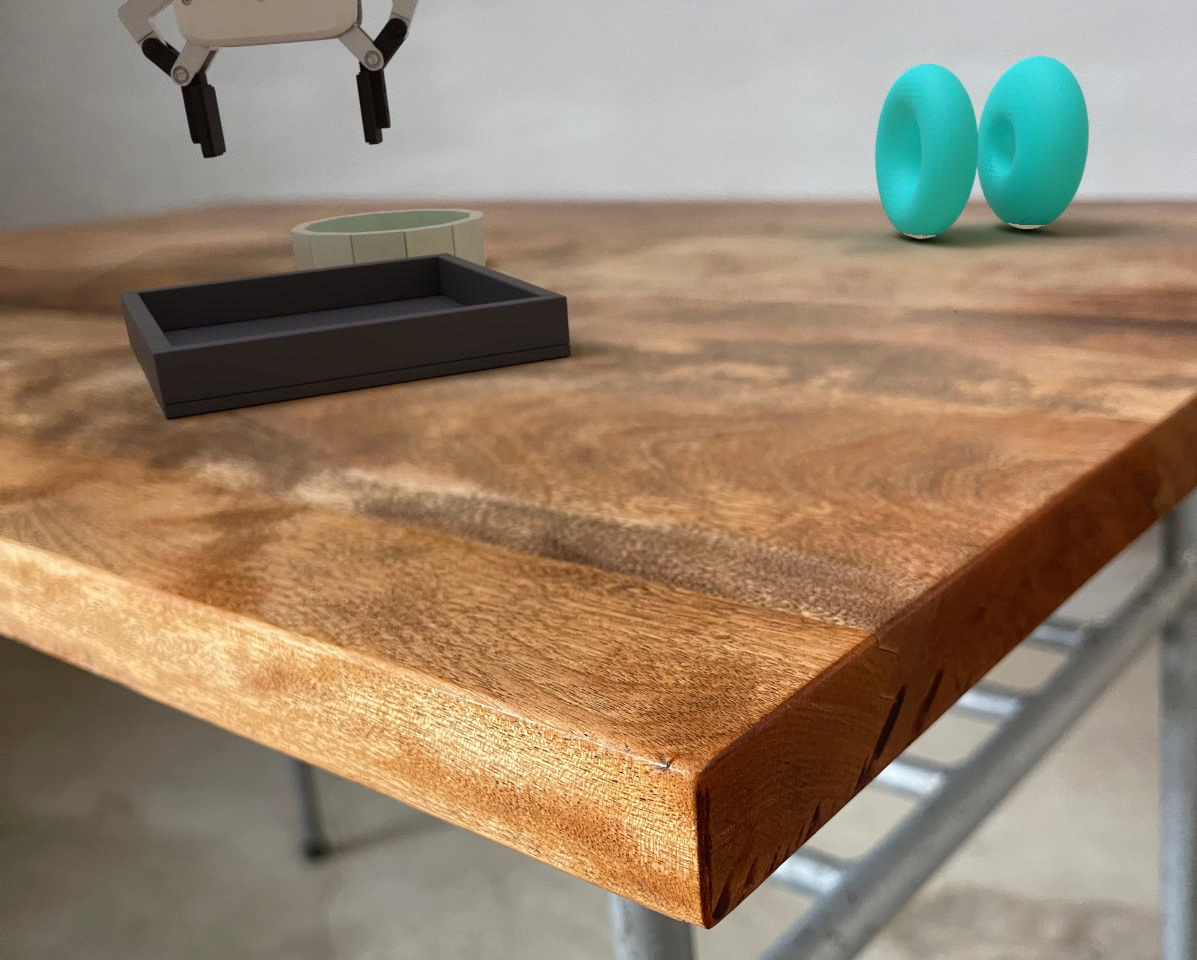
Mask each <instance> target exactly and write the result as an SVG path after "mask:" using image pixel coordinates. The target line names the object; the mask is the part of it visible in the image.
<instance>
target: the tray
mask: <svg viewBox="0 0 1197 960" xmlns="http://www.w3.org/2000/svg"><path fill="white" fill-rule="evenodd" d="M118 295H119V299H120V302H121V303H120V304H121V309H122V313H123V318H124V323H125V327H126V331H127V332H126V333H127V336H128V342H129V344H130V347H131V348H132V351H133V352H134V355H135V358H136V359H137V361H138V363H139V365H140V367H141V370H142V371H143V373H144V375H145V378H146V380H147V381H148V384H149V385H150V388H151V390H152V392H153V394H154V396H155V398H156V401H157V402H158V404H159V406H160V408H161V410H162V412H163V415H164V417H165V418H166V419H174V418H180V417H185V416H191V415H192V416H193V415H199V414H206V413H212V412H219V411H225V410H230V409H236V408H244V407H249V406H257V405H263V404H270V403H274V402H275V403H276V402H282V401H288V400H289V401H290V400H294V399H295V400H296V399H301V398H302V399H303V398H308V397H314V396H321V395H326V394H333V393H339V392H345V391H353V390H359V389H365V388H366V389H367V388H372V387H377V386H385V385H391V384H398V383H403V382H409V381H418V380H423V379H430V378H437V377H442V376H449V375H455V374H461V373H468V372H475V371H480V370H488V369H493V368H501V367H506V366H513V365H518V364H520V365H521V364H524V363H532V362H538V361H543V360H544V361H545V360H550V359H558V358H565V357H570V356H571V355H572V352H571V350H572V349H571V344H570V343H571V340H570V323H569V310H568V297H567V296H566V295H564V294H560V293H558V292H555V291H552V290H549V289H548V288H547V289H546V288H544V287H541V286H538V285H535V284H533V283H530V282H528V281H525V280H522V279H519V278H517V277H514V276H511V275H508V274H506V273H502V272H500V271H497V270H494V269H492V268H489V267H487V266H485V267H483V266H481V265H478V264H475V263H472V262H470V261H467V260H464V259H461V258H459V257H456V256H453V255H451V254H448V253H442V254H434V255H426V256H417V257H409V258H401V259H392V260H384V261H376V262H367V263H359V264H351V265H342V266H334V267H326V268H317V269H309V270H301V271H296V270H293V271H285V272H275V273H267V274H260V275H252V276H251V275H250V276H243V277H236V278H235V277H233V278H227V279H218V280H210V281H201V282H194V283H185V284H176V285H168V286H161V287H151V288H144V289H135V290H127V291H119V294H118Z"/></svg>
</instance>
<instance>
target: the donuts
mask: <svg viewBox="0 0 1197 960" xmlns="http://www.w3.org/2000/svg"><path fill="white" fill-rule="evenodd" d="M1084 95H1085V94H1084V93H1083V90H1082V87H1081V86H1080V83H1079V81H1078V80H1077V78H1076V77H1075V75H1074V73H1073V72H1072V71H1071V70H1070V68H1068V66H1067V65H1065V64H1064V63H1062V61H1059V60H1058V59H1056V58H1054V57H1050V56H1046V55H1033V56H1029V57H1026V58H1023V59H1021V60H1020V61H1017V62H1016V63H1014V64H1012V65H1011V66H1009V68H1008V69H1007V70H1005V72H1003V74H1001V75H1000V77H999V78H998V79H997V81H996V82H995V84H994V85H993V87H992V89H991V90H990V92H989V94H988V96H987V98H986V101H985V102H984V106H983V108H982V111H981V116H980V119H979V124H978V123H977V117H976V113H975V109H974V105H973V102H972V100H971V97H970V94H969V93H968V90H967V89H966V87H965V86H964V85H963V83H962V81H961V80H960V79H959V77H958V76H957V75H955V73H953V72H952V71H951V70H949V69H948V68H946V67H944V66H942V65H940V64H935V63H921V64H918V65H914V66H912V67H910V68H909V69H907V70H906V71H904V72H903V73H901V74H900V76H899V77H898V78H897V79H896V80H895V81H894V83H893V84H892V86H891V87H890V88H889V90H888V92H887V95H886V96H885V99H884V101H883V104H882V107H881V110H880V114H879V117H878V118H879V119H878V123H877V128H876V129H877V130H876V135H875V136H876V137H875V146H874V147H875V148H874V163H875V177H876V178H875V179H876V184H877V185H876V186H877V189H878V195H879V199H880V202H881V204H882V205H881V206H882V208H883V210H884V213H885V214H886V216H887V218H888V221H889V222H890V223H891V224H892V226H893V227H894V228H895V229H896V230H897V231H898V232H899V231H900V232H903V233H906V234H912V235H923V236H924V235H925V236H927V235H938V234H940V235H941V234H944V233H945V232H946V231H948V230H949V229H950V228H951V227H952V226H953V225H954V224H955V223H956V221H957V220H959V217H960V216H961V215H962V213H963V211H964V210H965V208H966V205H967V204H968V202H969V199H970V196H971V195H972V191H973V187H974V183H975V180H976V175H978V180H979V185H980V188H981V191H982V194H983V197H984V199H985V201H986V203H987V204H988V206H989V208H990V209H991V210H992V212H993V213H994V215H995V216H996V217H997V218H998V219H999V220H1001V222H1003V223H1004V222H1006V223H1012V224H1019V225H1046V224H1048V225H1050V224H1052V223H1053V222H1054V221H1056V220H1057V219H1058V218H1059V217H1061V216H1062V215H1063V213H1064V212H1065V211H1066V210H1067V208H1068V207H1069V206H1070V204H1071V203H1072V201H1073V199H1074V198H1075V196H1076V194H1077V192H1078V190H1079V187H1080V185H1081V182H1082V179H1083V176H1084V172H1085V168H1086V163H1087V159H1088V151H1089V137H1090V127H1089V126H1090V124H1089V123H1090V122H1089V114H1088V108H1087V103H1086V99H1085V96H1084ZM1006 223H1005V224H1006ZM1046 226H1047V225H1046ZM938 236H939V235H938Z"/></svg>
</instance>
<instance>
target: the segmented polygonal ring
mask: <svg viewBox="0 0 1197 960" xmlns="http://www.w3.org/2000/svg"><path fill="white" fill-rule="evenodd" d="M289 232H290V233H289V234H290V239H291V246H292V253H293V258H294V266H295V271H301V270H309V269H317V268H326V267H334V266H342V265H351V264H359V263H367V262H376V261H384V260H392V259H401V258H409V257H417V256H426V255H434V254H442V253H448V254H451V255H453V256H456V257H459V258H461V259H464V260H467V261H470V262H472V263H475V264H478V265H481V266H483V267H487V266H486V265H487V261H488V254H487V253H488V252H487V243H486V242H487V241H486V233H485V232H486V231H485V222H484V213H483V211H479V210H473V209H466V208H465V209H464V208H413V209H411V208H410V209H400V210H399V209H398V210H384V211H383V210H382V211H370V212H362V213H355V214H347V215H346V214H345V215H338V216H331V217H325V218H320V219H317V220H312V221H306V222H303V223H302V222H301V223H299V224H297V225H296V226H294V227H293V228H291V229H290V230H289Z"/></svg>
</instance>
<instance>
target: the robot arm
mask: <svg viewBox="0 0 1197 960" xmlns="http://www.w3.org/2000/svg"><path fill="white" fill-rule="evenodd" d="M420 1H421V0H391V2H392V7H391V10H390V14H389V17H388V20H387V22H386V24H385V25H384V26H383V27H382V29H381V30H380V32H379V33H378V34H377V36H376V37H375V39H373V38H372V37H371V35H369V33H367V31H366V30H364V29H363V27H362V22H363V4H362V3H363V2H362V0H127V1H126V2H124V3H123V4H121V5H120V6H119V7H118V9H117V16H118V18H119V20H120V21H121V23H122V24H123V25H124V27H125V28H126V30H127V31H128V33H129V34H130V36H131V37H132V38H133V40H134V41H135V43H136V44H137V45H138V46H139V47H140V49H141V51H142V54H143V56H144V57H145V58H146V59H148V61H150V62H151V63H152V64H154V66H156V67H158V68H159V70H160V71H162V72H163V73H164V74H166V75H167V76H168V77H169V78H171V80H172V81H173V83H174V84H175V85H176V86H179V87H180V90H181V95H182V101H183V105H184V110H185V115H186V121H187V125H188V129H189V130H188V131H189V135H190V136H189V137H190V139H191V142H192V143H193V144H194V145H200V150H201V155H202V157H203V159H213V158H217V157H221V156H223V155H224V154H225V153H226V152H227V147H226V141H225V136H224V135H225V134H224V131H223V125H222V119H221V113H220V108H219V104H218V97H217V93H216V88H215V86H214V85H213V86H212V84H211V83H209V82H208V76H207V73H208V72H209V70H210V68H211V66H212V64H213V62H214V60H215V58H216V57H217V56H218V53H219V52H220V50H221V48H239V47H253V46H256V47H257V46H268V45H279V44H293V43H294V44H295V43H303V42H315V41H327V40H337V39H338V41H339V42H340V43H341V44H342V45H343V46H344V47H345V48H346V49H347V50H348V51H349V52H350V53H351V54H352V55H353V56H354V57H355V58H356V59H357V60H358V66H359V67H358V68H359V71H358V74H355V80H356V87H357V96H358V101H359V109H360V117H361V124H362V131H363V138H364V142H365V144H368V145H369V146H372V145H373V146H375V145H380V144H381V143H383V141H384V137H383V130H384V129H390V128H392V127H391V126H392V125H391V115H390V107H389V106H390V105H389V100H388V92H387V84H386V77H385V69H386V68H387V67H388V64H389V63H390V61H392V59H393V57H395V54H396V53H397V52H398V50H399V49H400V47H401V46H402V45H403V43H404V42H405V41H406V39H407V38H408V36H409V35H410V30H411V27H412V23H413V21H414V18H415V15H416V13H417V9H418V6H419V4H420ZM172 4H173V5H172ZM171 5H172V6H173V11H174V15H175V20H176V23H177V24H176V25H177V27H178V30H179V33H180V34H181V36H182V37H183V39H185V40H186V42H185V44H184V46H183V47H182V49H181V51H179V50H178V49H176V48H175V47H174V46H173V45H172V44H170V43H169V42H168V41H167V40H166V39H164V38H163V36H162V35H161V33H160V31H159V29H158V28H157V27H156V24H155V18H156V16H157V15H158V14H160V13H161V12H162V11H164V10H165V9H166V8H168V7H169V6H171Z"/></svg>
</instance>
